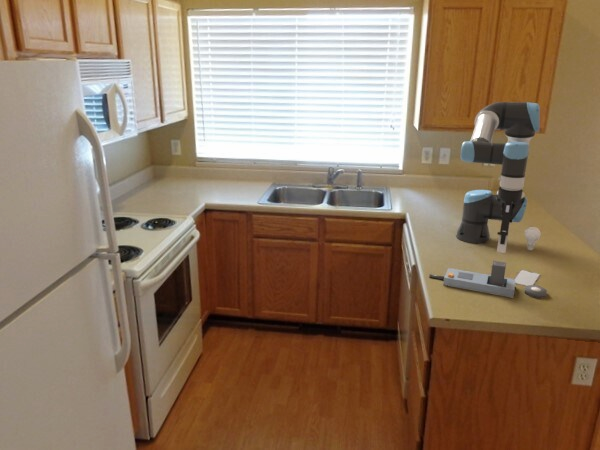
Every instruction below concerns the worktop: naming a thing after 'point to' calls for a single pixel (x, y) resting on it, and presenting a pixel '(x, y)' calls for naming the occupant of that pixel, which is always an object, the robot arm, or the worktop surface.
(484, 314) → the worktop surface
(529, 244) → the lightbulb
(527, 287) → the grey disc with dome
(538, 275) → the smartphone
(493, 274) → the brick
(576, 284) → the worktop surface
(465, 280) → the power strip
